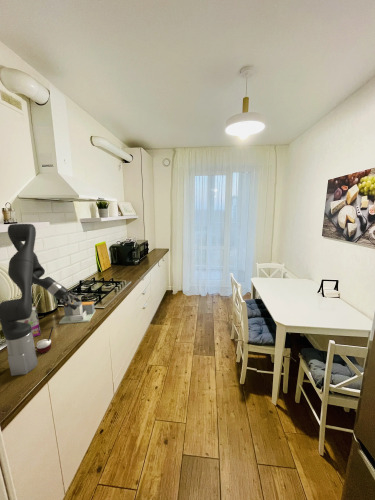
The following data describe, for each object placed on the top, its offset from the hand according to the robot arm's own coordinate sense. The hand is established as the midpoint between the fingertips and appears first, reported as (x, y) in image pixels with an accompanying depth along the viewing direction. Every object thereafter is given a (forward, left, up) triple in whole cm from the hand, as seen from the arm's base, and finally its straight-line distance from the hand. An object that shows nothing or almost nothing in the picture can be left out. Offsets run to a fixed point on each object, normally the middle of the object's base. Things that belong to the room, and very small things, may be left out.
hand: (78, 305), depth 135 cm
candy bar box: (-17, +22, -9) cm, 29 cm away
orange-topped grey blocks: (+2, +2, -9) cm, 10 cm away
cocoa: (-31, +6, -9) cm, 33 cm away
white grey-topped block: (0, +1, -8) cm, 8 cm away
